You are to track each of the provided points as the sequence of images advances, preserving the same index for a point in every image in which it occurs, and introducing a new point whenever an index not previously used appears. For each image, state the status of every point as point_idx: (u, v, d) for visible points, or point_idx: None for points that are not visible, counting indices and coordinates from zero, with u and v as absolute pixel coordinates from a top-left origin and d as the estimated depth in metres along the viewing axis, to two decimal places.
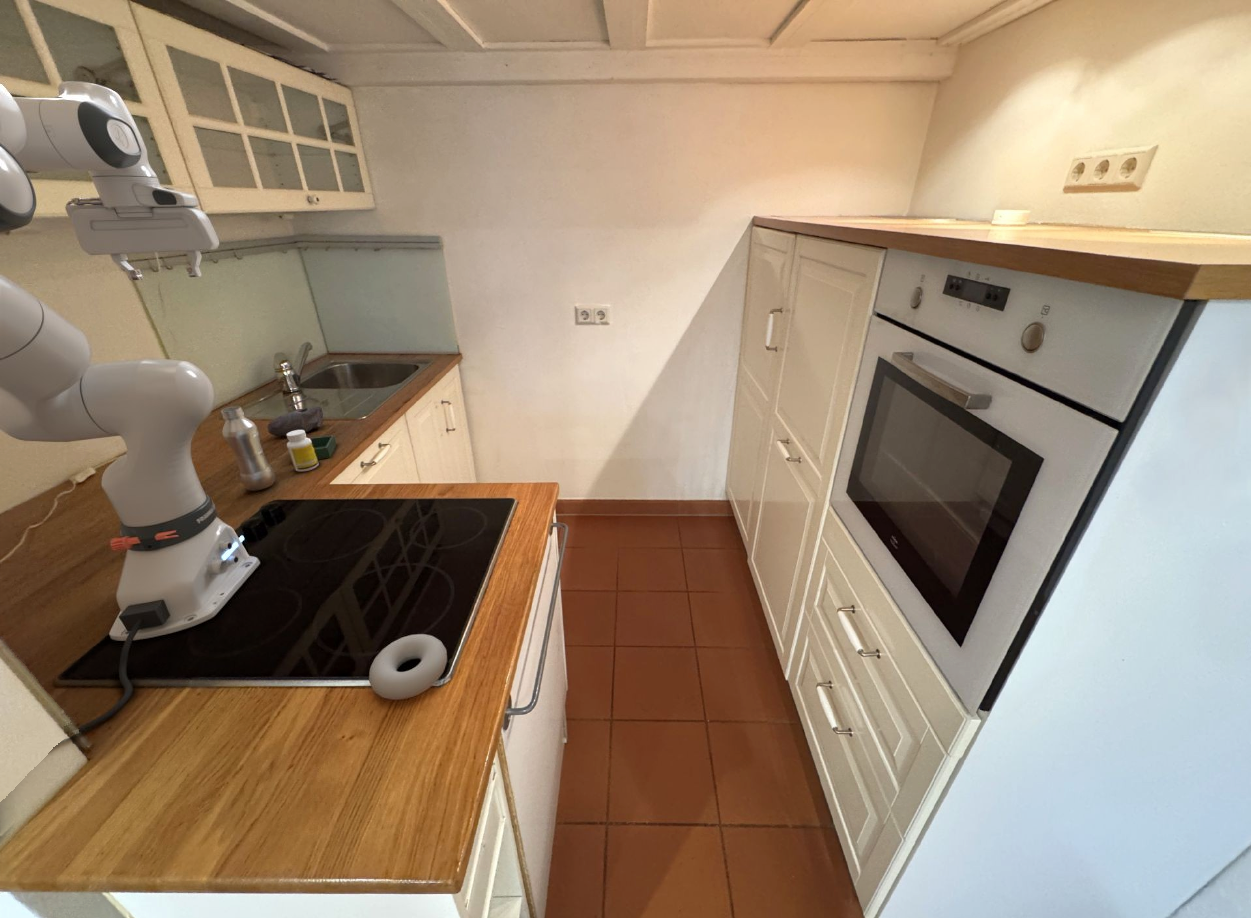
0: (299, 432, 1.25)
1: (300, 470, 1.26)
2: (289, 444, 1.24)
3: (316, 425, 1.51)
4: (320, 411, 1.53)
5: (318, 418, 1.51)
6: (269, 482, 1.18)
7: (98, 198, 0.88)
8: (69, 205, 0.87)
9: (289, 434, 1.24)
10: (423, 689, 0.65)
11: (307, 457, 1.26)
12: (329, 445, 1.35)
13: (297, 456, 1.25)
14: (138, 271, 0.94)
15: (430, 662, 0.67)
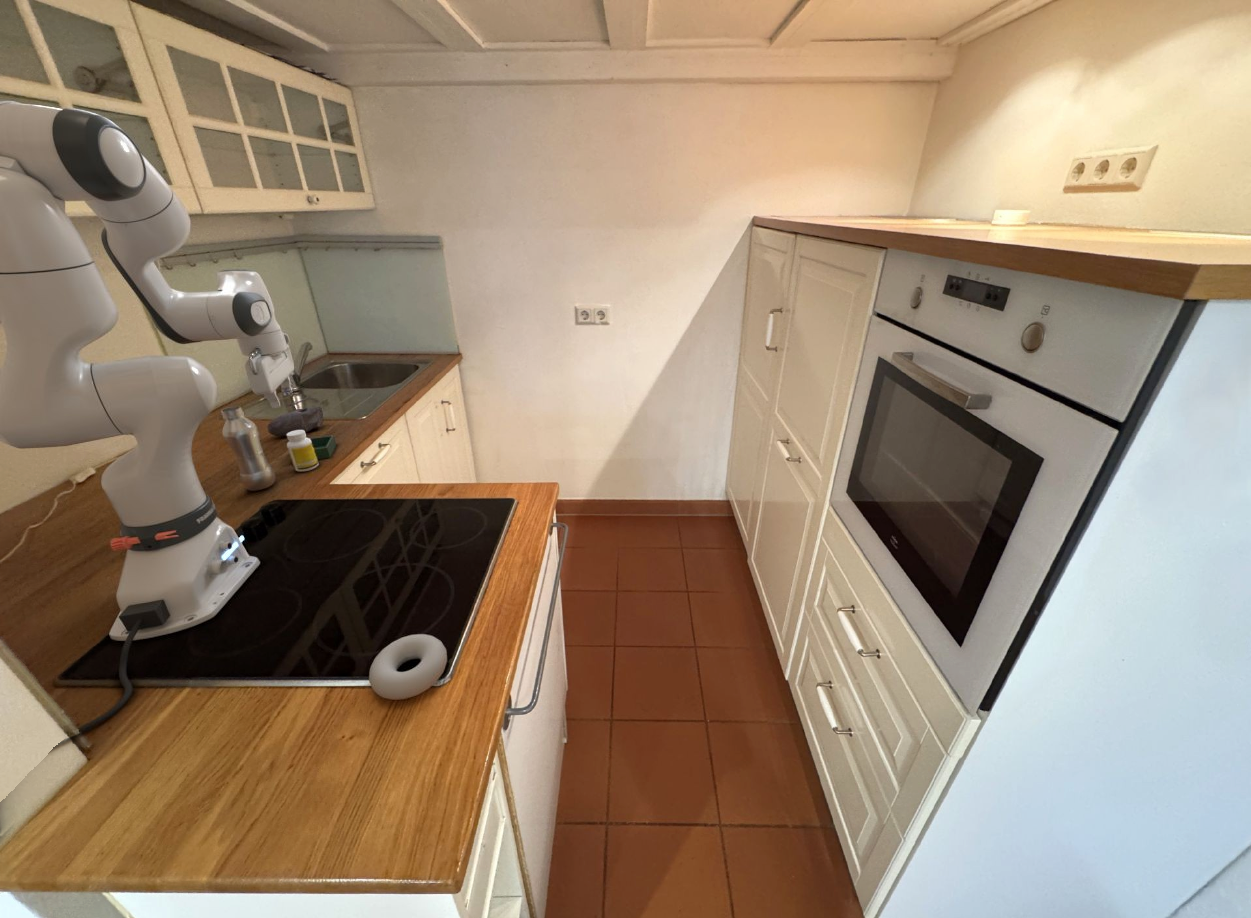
0: (299, 432, 1.25)
1: (300, 470, 1.26)
2: (289, 444, 1.24)
3: (316, 425, 1.51)
4: (320, 411, 1.53)
5: (318, 418, 1.51)
6: (269, 482, 1.18)
7: (257, 349, 1.10)
8: (252, 359, 1.07)
9: (289, 434, 1.24)
10: (423, 689, 0.65)
11: (307, 457, 1.26)
12: (329, 445, 1.35)
13: (297, 456, 1.25)
14: None
15: (430, 662, 0.67)
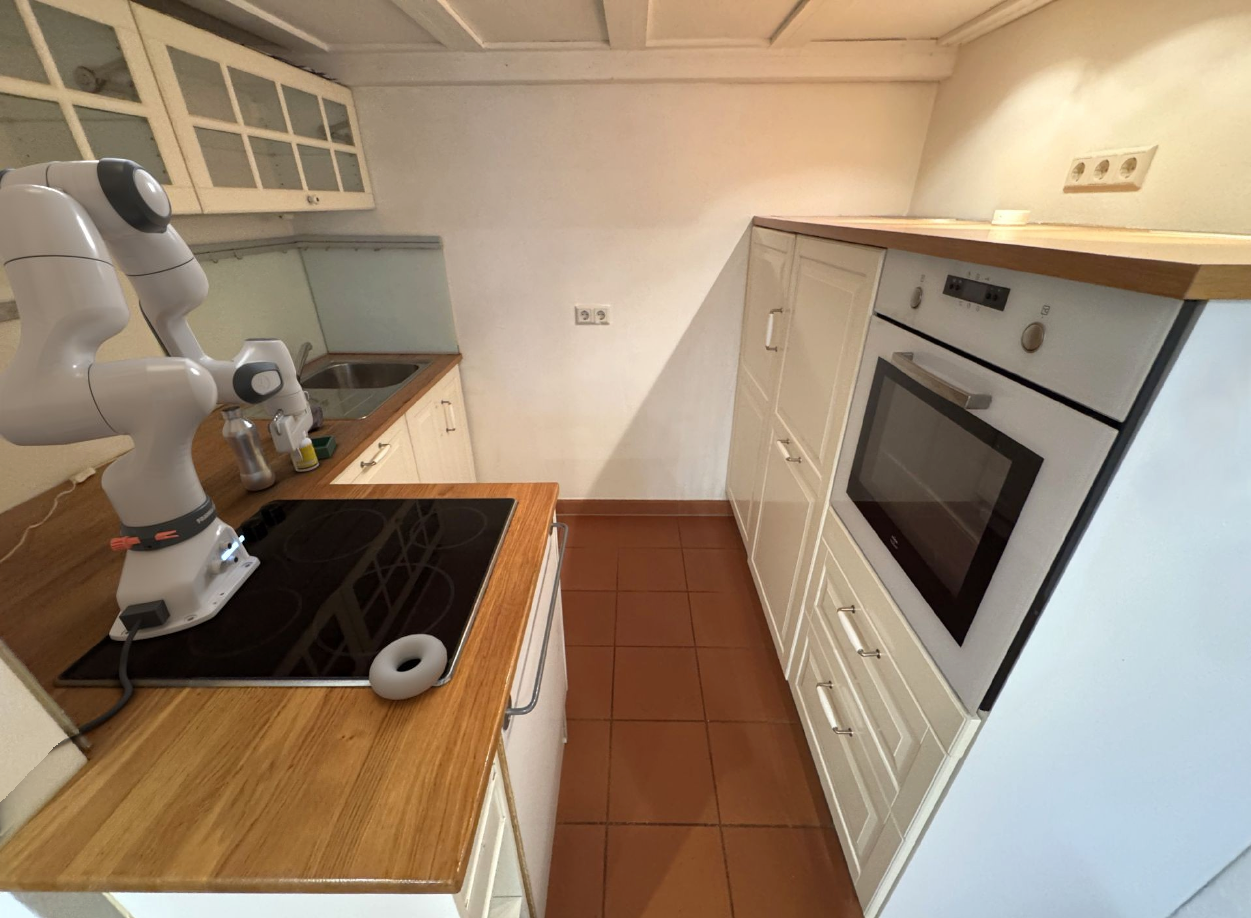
0: None
1: (300, 470, 1.26)
2: None
3: (316, 425, 1.51)
4: (320, 411, 1.53)
5: (318, 418, 1.51)
6: (269, 482, 1.18)
7: (281, 410, 1.17)
8: (276, 421, 1.14)
9: None
10: (423, 689, 0.65)
11: (307, 457, 1.26)
12: (329, 445, 1.35)
13: None
14: None
15: (430, 662, 0.67)
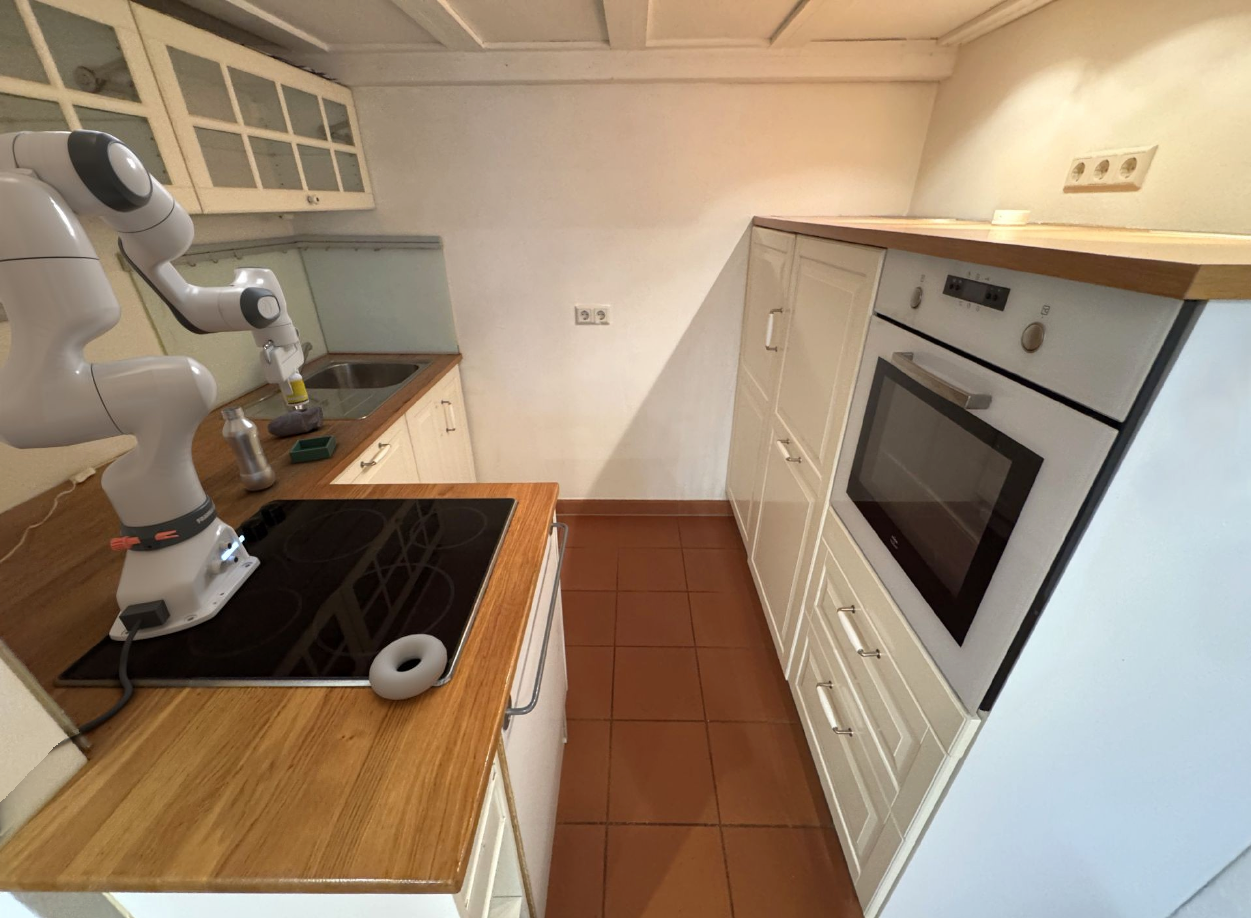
0: None
1: (291, 405, 1.28)
2: None
3: (316, 425, 1.51)
4: (320, 411, 1.53)
5: (318, 418, 1.51)
6: (269, 482, 1.18)
7: (271, 341, 1.18)
8: (266, 349, 1.15)
9: None
10: (423, 689, 0.65)
11: (298, 391, 1.27)
12: (329, 445, 1.35)
13: None
14: None
15: (430, 662, 0.67)
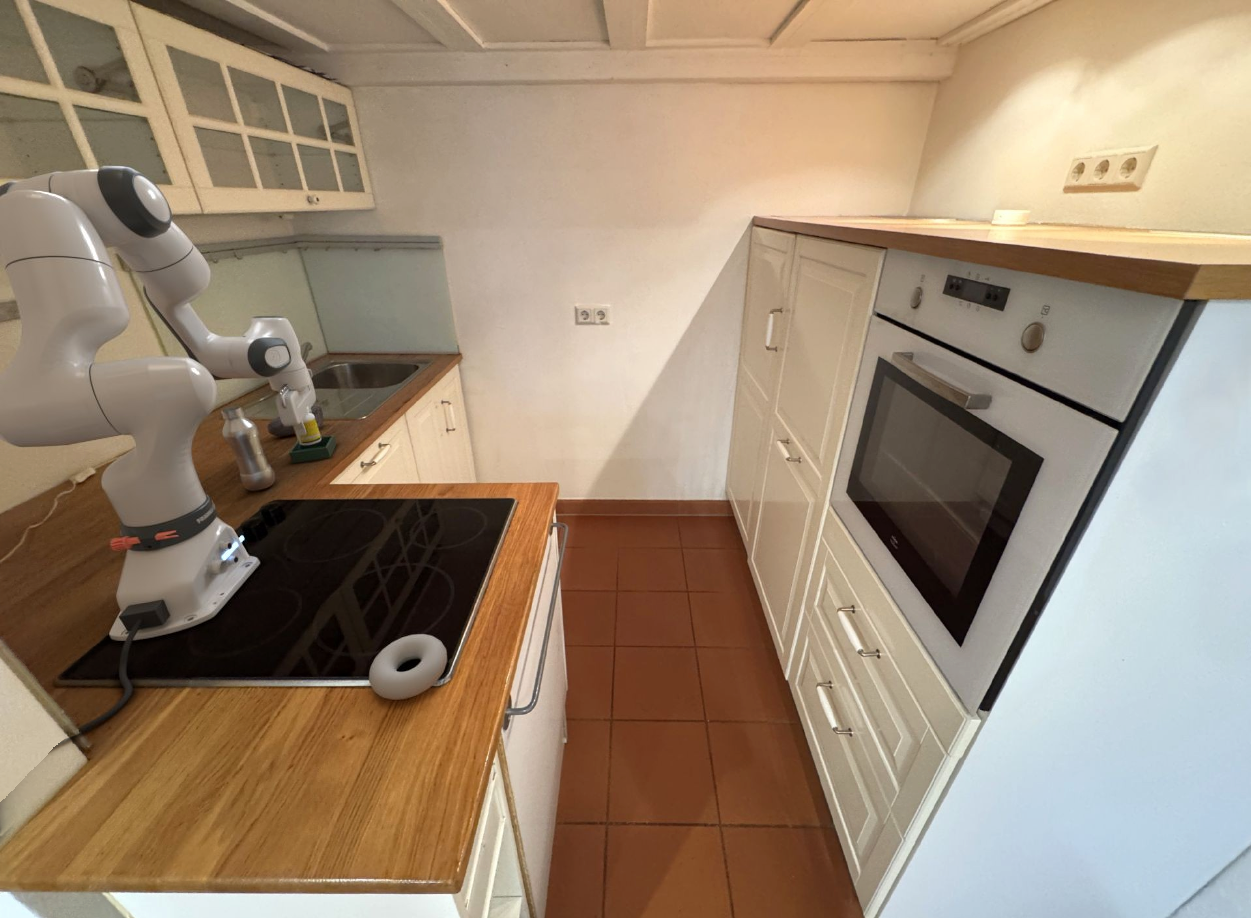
0: None
1: (304, 444, 1.32)
2: None
3: None
4: (320, 411, 1.53)
5: (318, 418, 1.51)
6: (269, 482, 1.18)
7: (286, 385, 1.23)
8: (282, 395, 1.20)
9: None
10: (423, 689, 0.65)
11: (311, 431, 1.32)
12: (329, 445, 1.35)
13: None
14: None
15: (430, 662, 0.67)
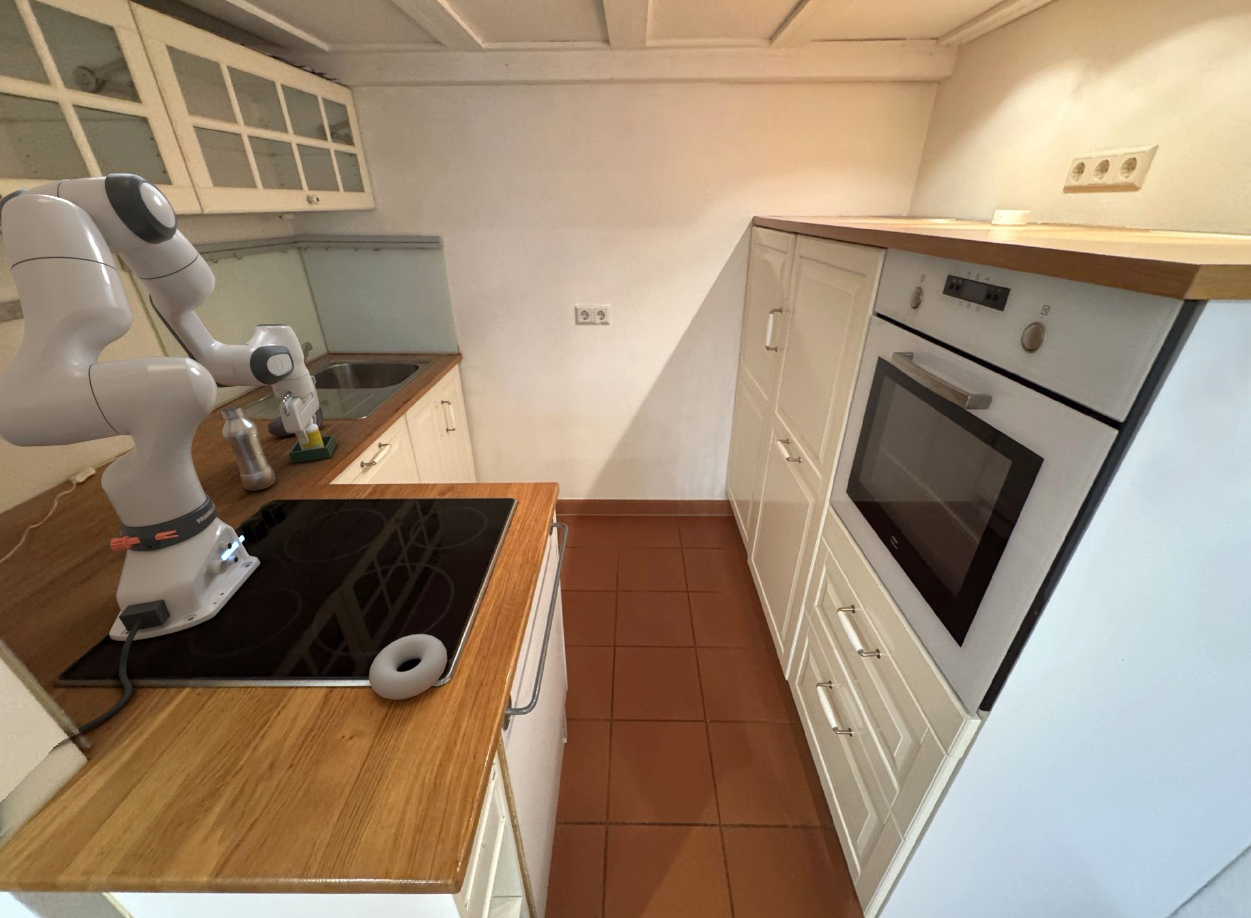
0: None
1: None
2: None
3: None
4: (320, 411, 1.53)
5: (318, 418, 1.51)
6: (269, 482, 1.18)
7: (289, 393, 1.24)
8: (285, 402, 1.21)
9: None
10: (423, 689, 0.65)
11: (314, 441, 1.33)
12: (329, 445, 1.35)
13: None
14: None
15: (430, 662, 0.67)
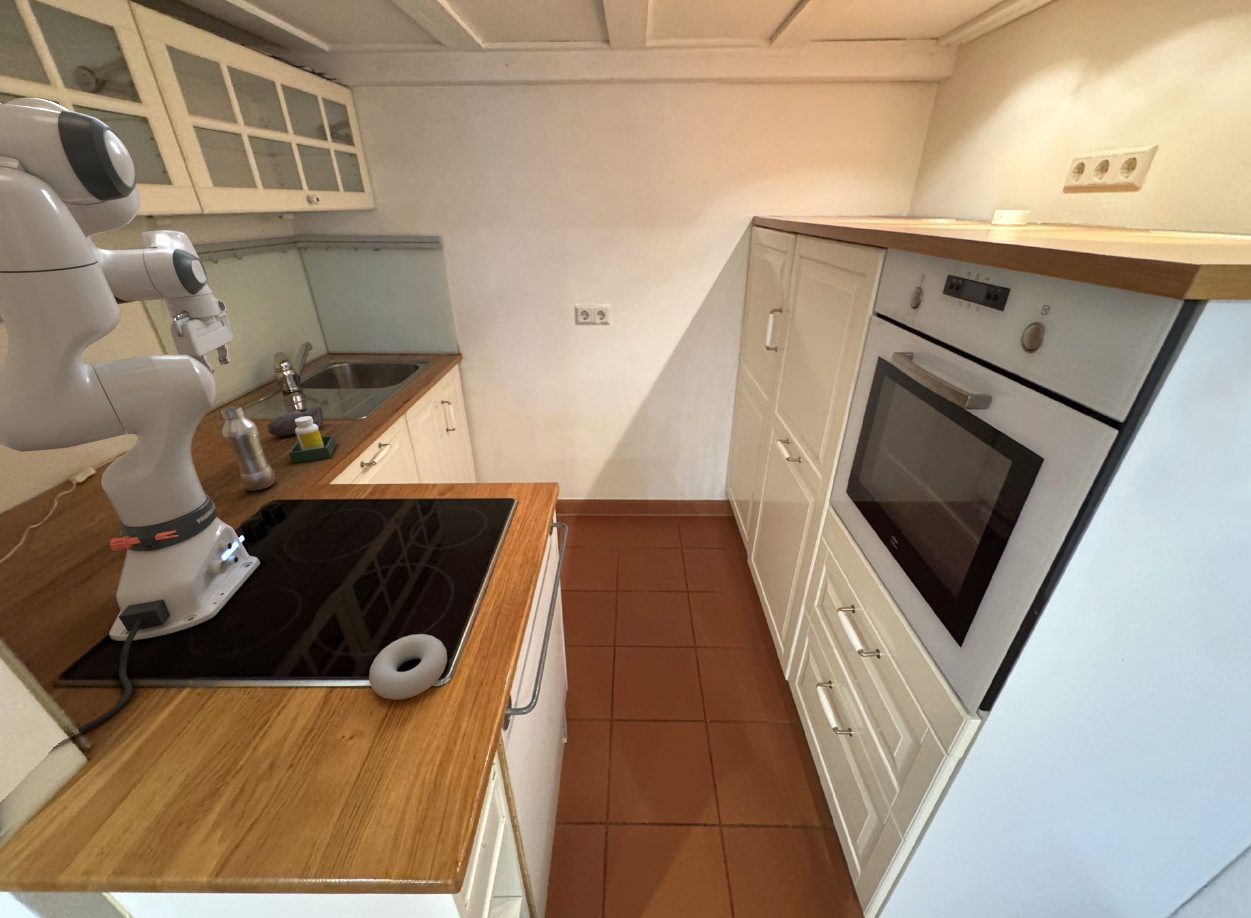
0: (307, 418, 1.32)
1: None
2: (297, 429, 1.31)
3: None
4: (320, 411, 1.53)
5: (318, 418, 1.51)
6: (269, 482, 1.18)
7: (185, 312, 1.08)
8: (176, 320, 1.05)
9: (297, 420, 1.31)
10: (423, 689, 0.65)
11: (314, 441, 1.33)
12: (329, 445, 1.35)
13: (304, 441, 1.32)
14: None
15: (430, 662, 0.67)
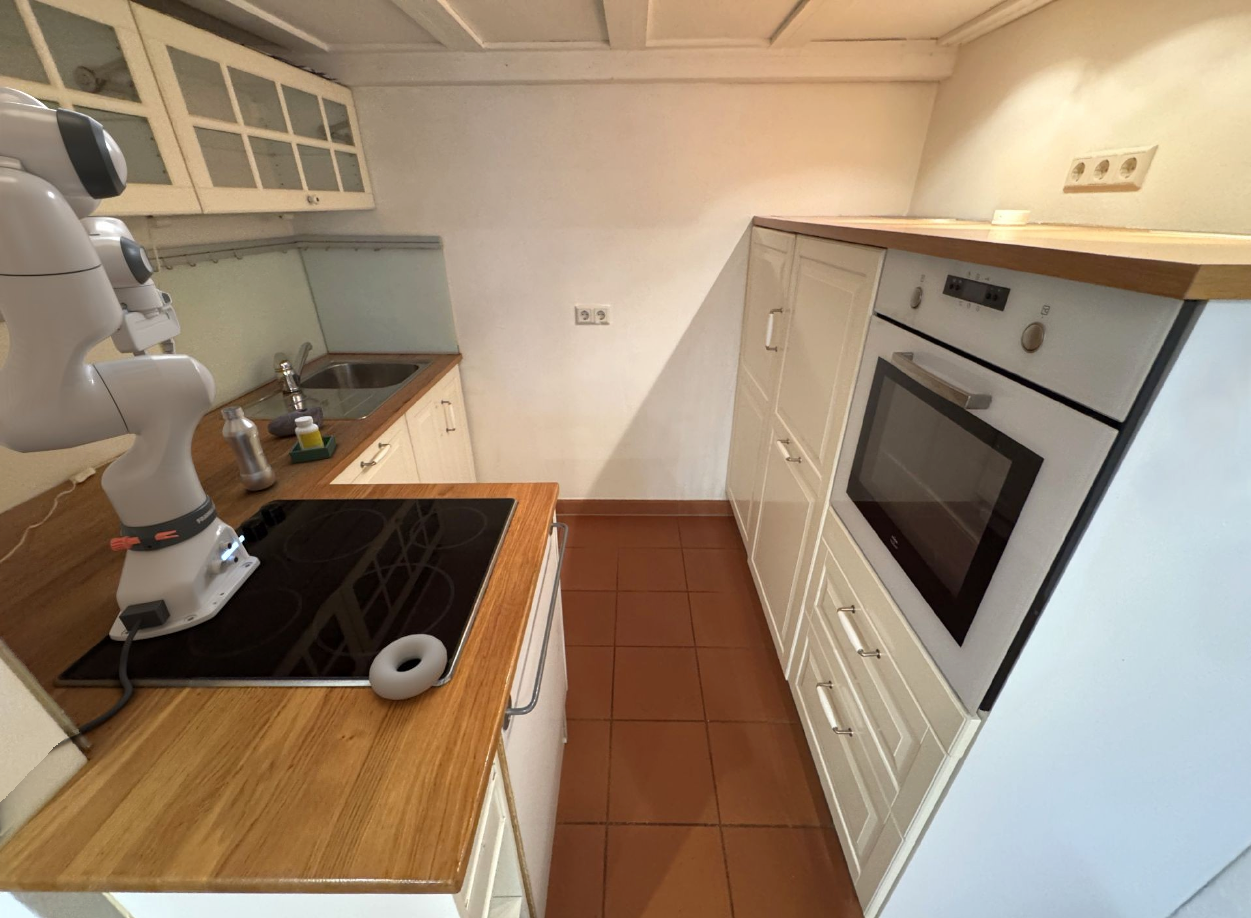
0: (307, 418, 1.32)
1: None
2: (297, 429, 1.31)
3: None
4: (320, 411, 1.53)
5: (318, 418, 1.51)
6: (269, 482, 1.18)
7: (123, 304, 1.03)
8: None
9: (297, 420, 1.31)
10: (423, 689, 0.65)
11: (314, 441, 1.33)
12: (329, 445, 1.35)
13: (304, 441, 1.32)
14: None
15: (430, 662, 0.67)
